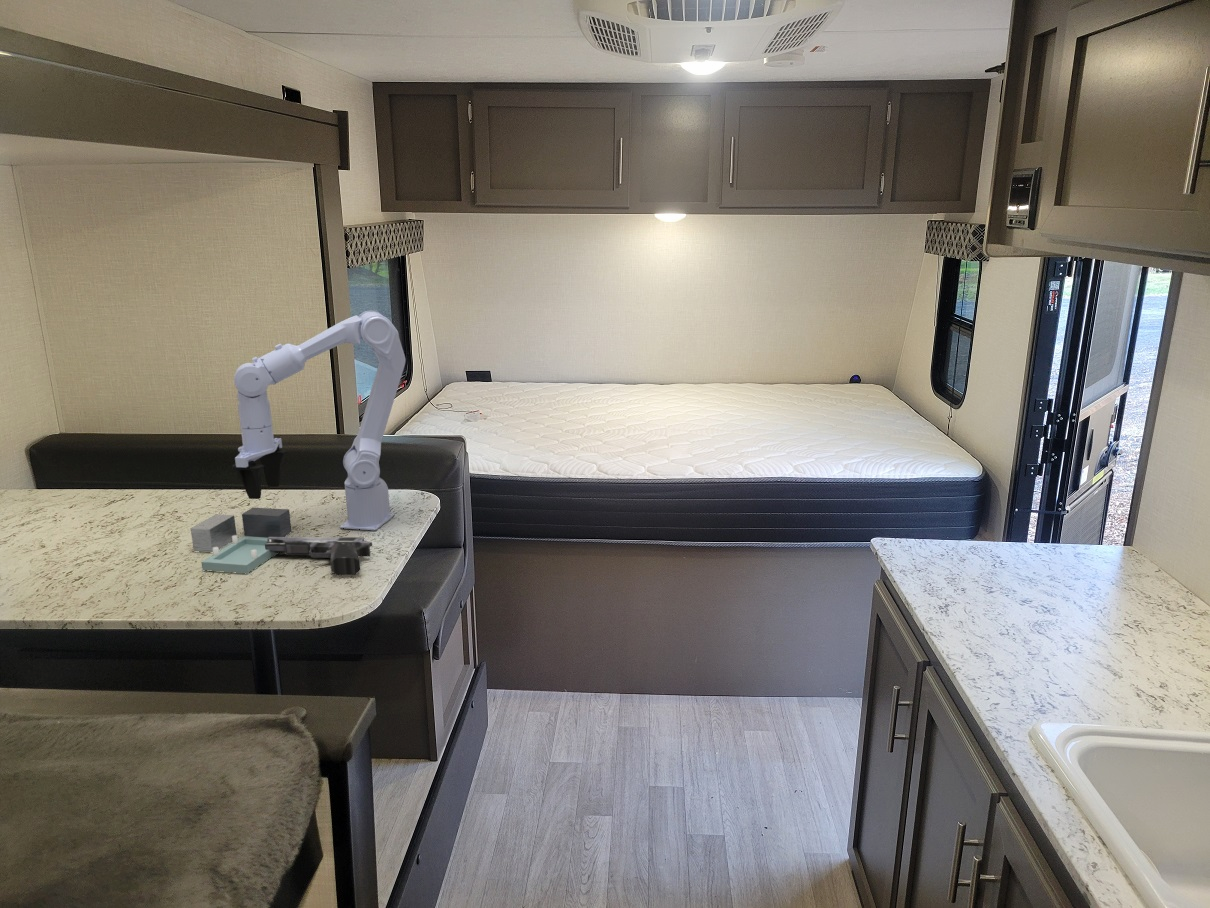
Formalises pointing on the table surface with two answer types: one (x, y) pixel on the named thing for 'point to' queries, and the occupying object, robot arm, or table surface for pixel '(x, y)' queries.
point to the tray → (239, 555)
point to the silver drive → (213, 532)
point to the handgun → (325, 550)
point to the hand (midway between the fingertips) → (264, 492)
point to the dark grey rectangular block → (266, 522)
